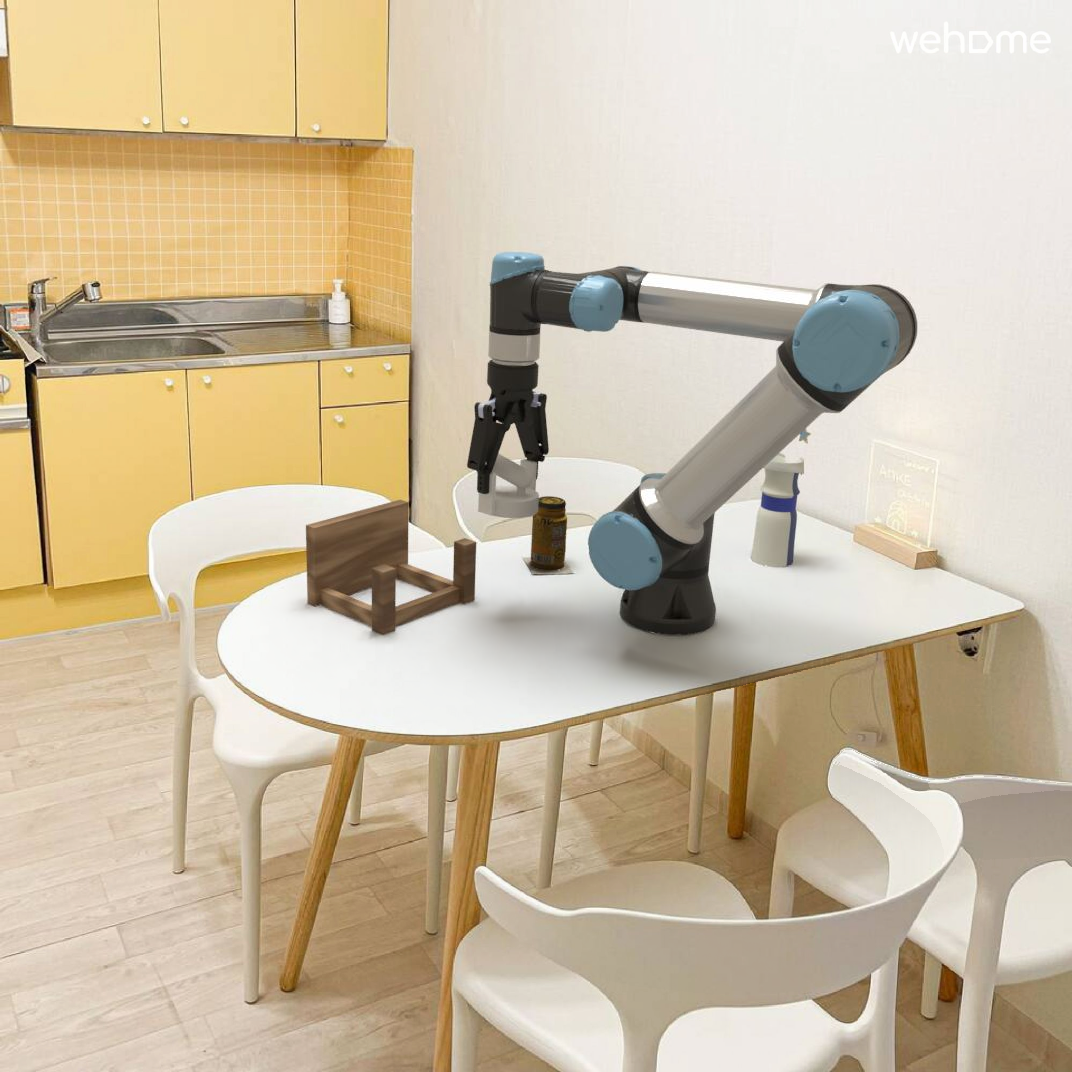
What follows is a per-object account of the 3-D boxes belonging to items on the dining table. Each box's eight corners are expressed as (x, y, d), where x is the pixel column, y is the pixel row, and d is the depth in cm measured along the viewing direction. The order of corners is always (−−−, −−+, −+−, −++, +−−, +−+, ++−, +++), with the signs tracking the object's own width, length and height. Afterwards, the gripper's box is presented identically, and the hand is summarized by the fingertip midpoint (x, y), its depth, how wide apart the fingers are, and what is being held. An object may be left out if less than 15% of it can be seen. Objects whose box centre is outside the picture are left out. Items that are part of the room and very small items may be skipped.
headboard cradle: (474, 600, 187) (476, 524, 183) (383, 635, 173) (383, 553, 168) (399, 572, 198) (400, 499, 193) (307, 602, 183) (305, 525, 179)
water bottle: (759, 548, 218) (774, 418, 210) (801, 558, 213) (818, 426, 205) (739, 559, 211) (754, 426, 203) (783, 570, 207) (799, 434, 199)
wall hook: (483, 438, 179) (546, 445, 177) (481, 497, 182) (543, 504, 180) (468, 451, 171) (534, 458, 169) (466, 513, 174) (531, 520, 172)
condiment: (562, 557, 208) (565, 493, 205) (573, 574, 201) (577, 508, 197) (522, 558, 207) (525, 494, 203) (532, 575, 199) (535, 509, 195)
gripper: (540, 349, 180) (533, 488, 188) (443, 364, 165) (440, 515, 172) (578, 356, 176) (569, 498, 183) (482, 373, 160) (477, 527, 167)
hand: (507, 506), depth 177 cm, fingers closed on wall hook, 9 cm apart
